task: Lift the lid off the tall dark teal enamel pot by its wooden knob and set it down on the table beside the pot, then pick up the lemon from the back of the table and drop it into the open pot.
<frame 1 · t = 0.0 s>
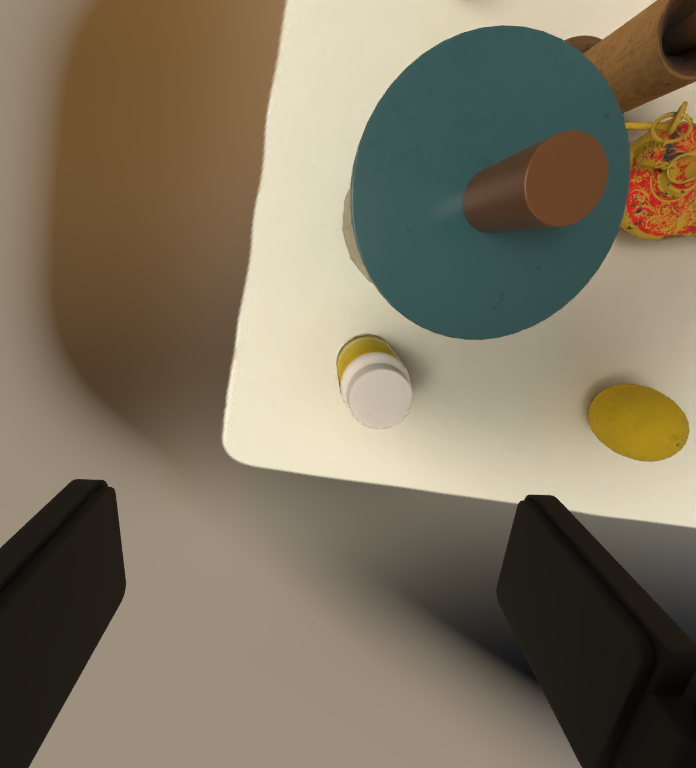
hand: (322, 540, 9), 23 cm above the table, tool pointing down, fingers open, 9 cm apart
lemon: (598, 401, 35), on the table
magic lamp: (640, 199, 30), on the table
lid: (486, 202, 16), point 13 cm above the table, touching pot
supplement bottle: (365, 361, 32), on the table
mortar and pestle: (555, 110, 27), on the table
pot: (412, 222, 29), on the table
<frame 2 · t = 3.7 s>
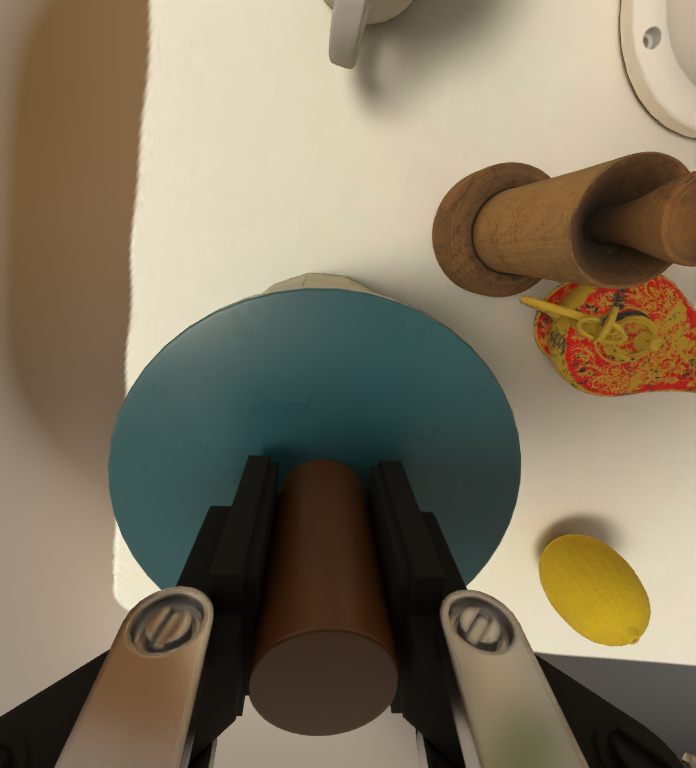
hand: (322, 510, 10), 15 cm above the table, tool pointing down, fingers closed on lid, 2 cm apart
lemon: (553, 540, 30), on the table
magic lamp: (594, 329, 25), on the table
lid: (322, 484, 11), point 14 cm above the table, touching gripper, pot
mortar and pestle: (487, 234, 23), on the table
pot: (320, 360, 24), on the table
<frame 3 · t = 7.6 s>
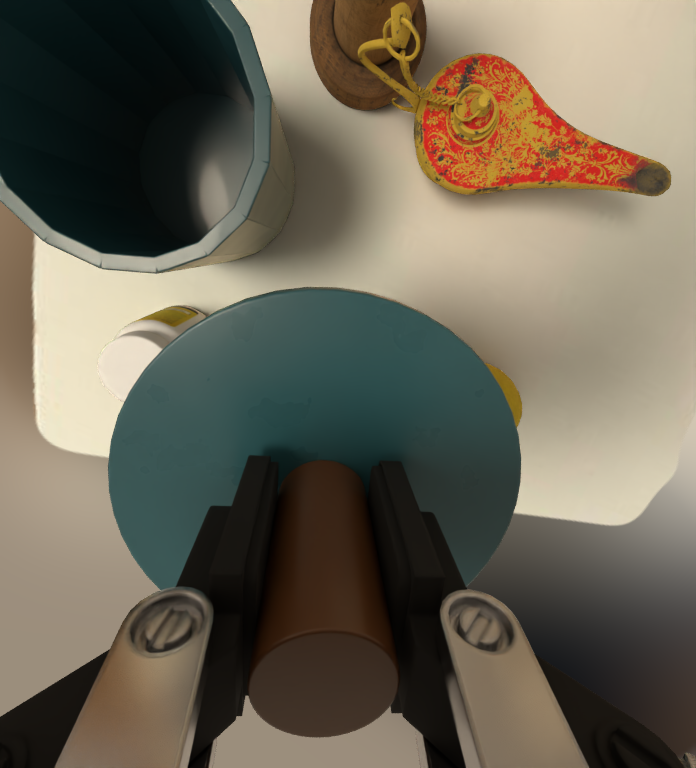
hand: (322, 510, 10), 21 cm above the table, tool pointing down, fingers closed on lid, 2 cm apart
lemon: (456, 382, 32), on the table
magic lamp: (475, 154, 27), on the table
lid: (322, 485, 11), point 19 cm above the table, touching gripper
supplement bottle: (186, 336, 29), on the table
mortar and pestle: (364, 49, 24), on the table
pot: (215, 178, 26), on the table
when the fingers open (2 cm above the table, at t = 11.8 s): lid stays where it is, point 1 cm above the table.
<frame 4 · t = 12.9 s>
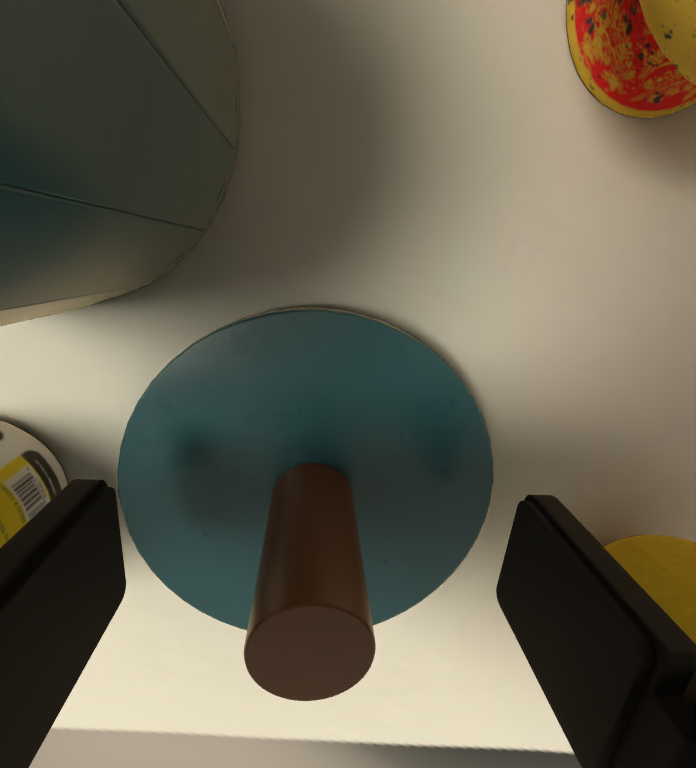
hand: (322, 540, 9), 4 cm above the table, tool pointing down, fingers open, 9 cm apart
lemon: (597, 548, 15), on the table
lid: (312, 486, 13), point 1 cm above the table
pot: (18, 84, 9), on the table
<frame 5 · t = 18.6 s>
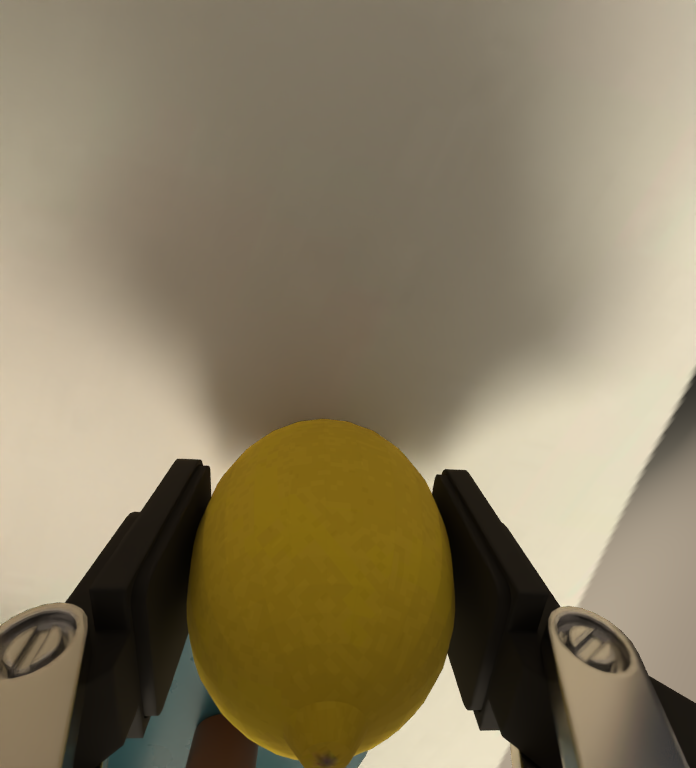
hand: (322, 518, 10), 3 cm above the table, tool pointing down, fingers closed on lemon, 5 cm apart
lemon: (321, 457, 13), on the table, touching gripper
lid: (230, 716, 15), point 1 cm above the table
when the fingers open (13 cm above the table, at t = 28.3 s): lemon drops 10 cm, resting on pot.
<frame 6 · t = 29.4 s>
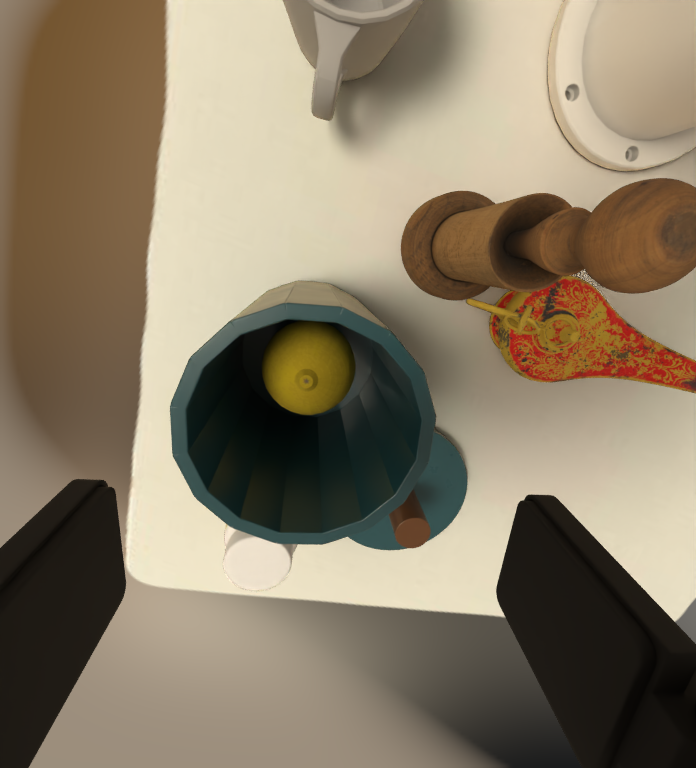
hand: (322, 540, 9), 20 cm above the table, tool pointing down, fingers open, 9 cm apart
lemon: (311, 354, 28), resting on pot
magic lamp: (541, 327, 29), on the table
cup: (338, 49, 23), on the table
lid: (395, 487, 32), point 1 cm above the table
supplement bottle: (270, 484, 32), on the table
mortar and pestle: (447, 248, 27), on the table
pot: (308, 355, 28), on the table
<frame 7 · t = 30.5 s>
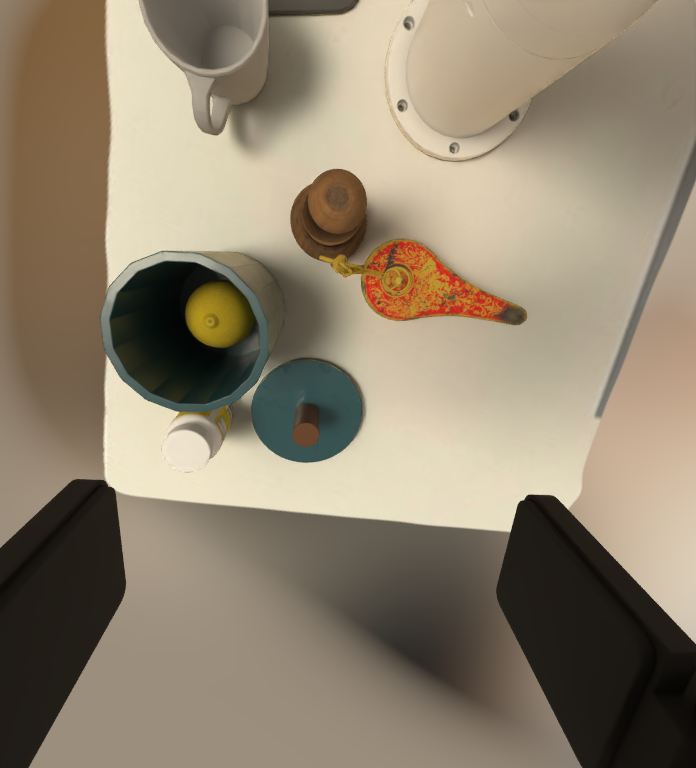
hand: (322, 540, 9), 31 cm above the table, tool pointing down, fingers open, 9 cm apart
lemon: (231, 307, 38), resting on pot
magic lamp: (408, 283, 39), on the table
cup: (230, 82, 32), on the table
lid: (307, 411, 41), point 1 cm above the table
supplement bottle: (211, 412, 41), on the table
mortar and pestle: (328, 223, 36), on the table
pot: (230, 308, 38), on the table
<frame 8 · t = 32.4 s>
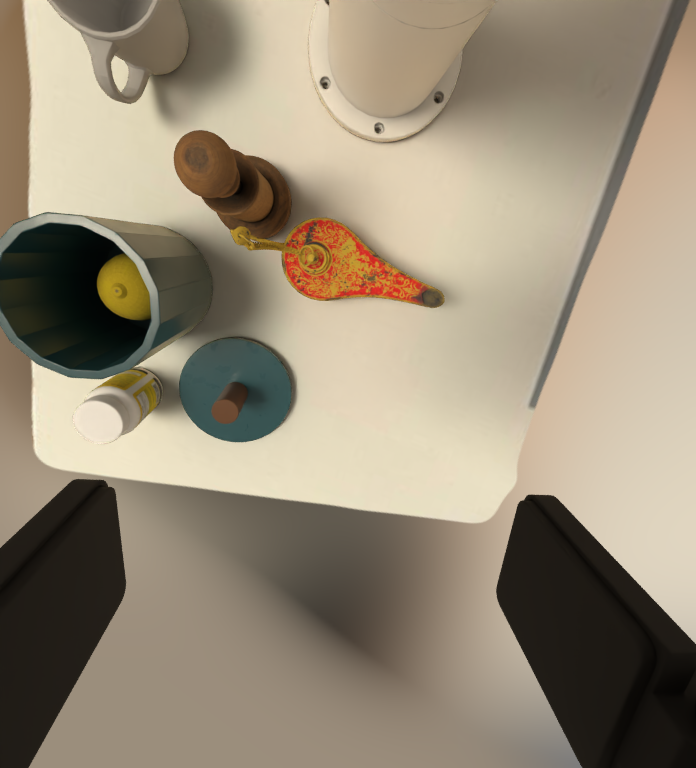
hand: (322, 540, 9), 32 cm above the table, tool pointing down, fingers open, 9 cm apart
lemon: (158, 282, 37), resting on pot
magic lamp: (338, 264, 39), on the table
cup: (152, 52, 32), on the table
lid: (237, 390, 41), point 1 cm above the table
supplement bottle: (141, 388, 41), on the table
mortar and pestle: (255, 201, 36), on the table
pot: (157, 283, 38), on the table
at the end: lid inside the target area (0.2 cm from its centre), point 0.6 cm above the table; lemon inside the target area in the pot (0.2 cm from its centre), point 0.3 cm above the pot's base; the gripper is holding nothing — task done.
